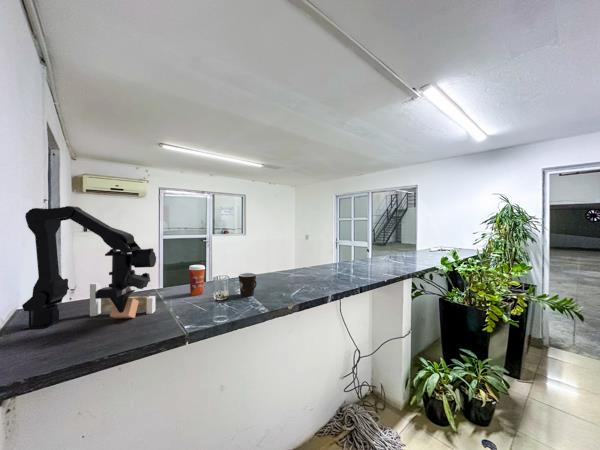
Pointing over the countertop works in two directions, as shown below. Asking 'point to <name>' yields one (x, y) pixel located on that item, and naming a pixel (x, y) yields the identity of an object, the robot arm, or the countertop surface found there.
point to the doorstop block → (126, 310)
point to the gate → (142, 305)
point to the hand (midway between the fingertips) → (121, 312)
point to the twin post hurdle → (96, 303)
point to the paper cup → (196, 279)
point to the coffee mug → (247, 284)
